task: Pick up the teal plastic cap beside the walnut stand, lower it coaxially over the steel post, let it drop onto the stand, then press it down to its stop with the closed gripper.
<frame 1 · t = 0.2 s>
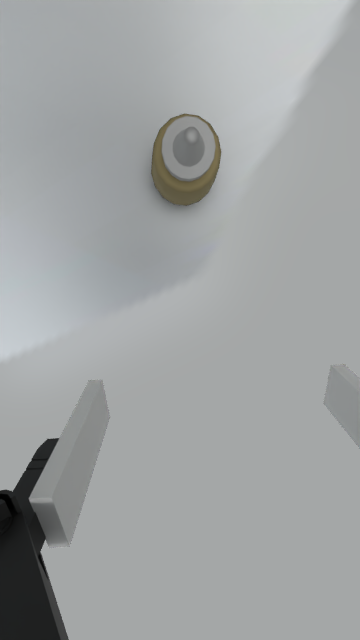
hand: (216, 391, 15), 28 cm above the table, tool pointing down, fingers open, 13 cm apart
squeeze bottle: (182, 174, 35), on the table
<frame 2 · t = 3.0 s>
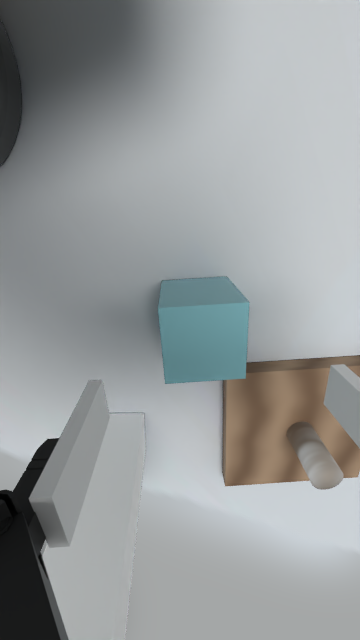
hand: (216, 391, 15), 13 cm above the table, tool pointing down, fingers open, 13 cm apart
walnut stand: (292, 419, 33), on the table
teal cap: (195, 309, 27), on the table
milk: (122, 429, 33), on the table
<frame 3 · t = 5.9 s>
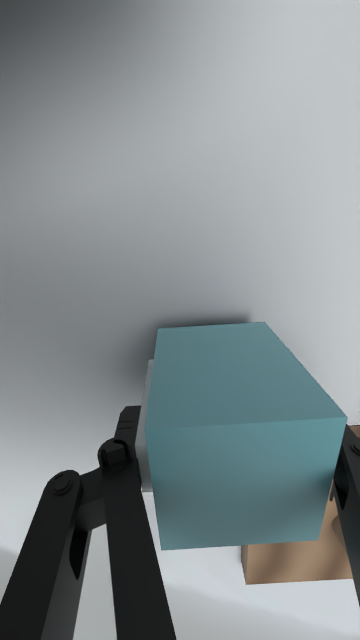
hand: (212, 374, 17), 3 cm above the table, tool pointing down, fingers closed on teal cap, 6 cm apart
walnut stand: (336, 499, 25), on the table
teal cap: (211, 370, 17), point 2 cm above the table, touching gripper
milk: (110, 510, 25), on the table
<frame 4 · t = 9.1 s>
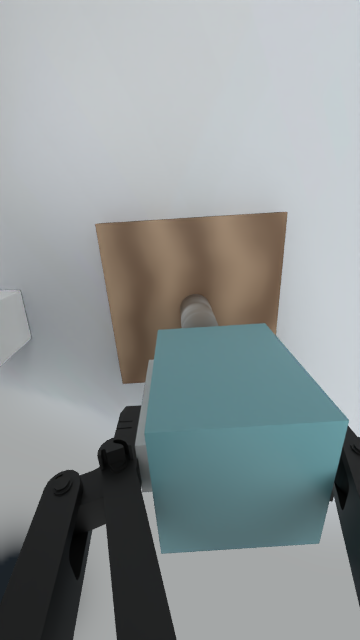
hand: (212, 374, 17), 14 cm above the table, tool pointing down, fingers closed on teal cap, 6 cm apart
walnut stand: (193, 302, 29), on the table
teal cap: (212, 372, 17), point 14 cm above the table, touching gripper
milk: (1, 314, 29), on the table
when the fingers open (2 cm above the table, at t = 12.1 s): teal cap stays where it is, resting on walnut stand.
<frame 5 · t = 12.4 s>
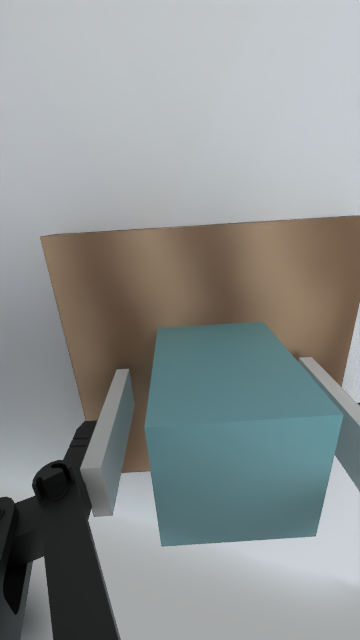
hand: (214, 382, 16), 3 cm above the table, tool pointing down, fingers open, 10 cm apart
walnut stand: (207, 355, 19), on the table
teal cap: (211, 369, 17), point 2 cm above the table, touching walnut stand
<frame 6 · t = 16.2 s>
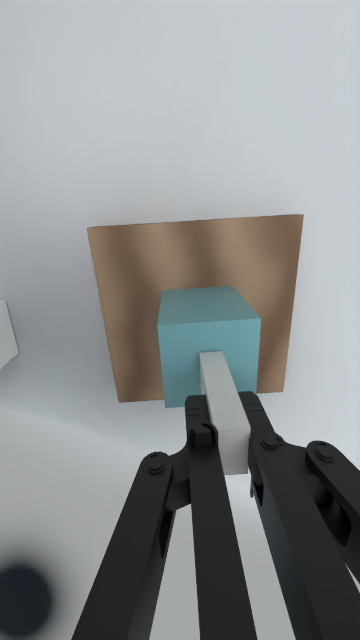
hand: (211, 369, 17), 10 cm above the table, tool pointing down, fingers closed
walnut stand: (196, 313, 27), on the table
teal cap: (198, 320, 25), point 2 cm above the table, touching gripper, walnut stand
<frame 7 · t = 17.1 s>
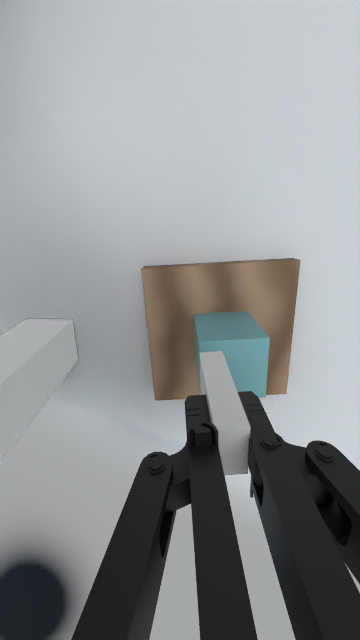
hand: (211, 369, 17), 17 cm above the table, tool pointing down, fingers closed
walnut stand: (218, 331, 34), on the table
teal cap: (220, 336, 32), point 2 cm above the table, touching walnut stand
milk: (54, 339, 35), on the table
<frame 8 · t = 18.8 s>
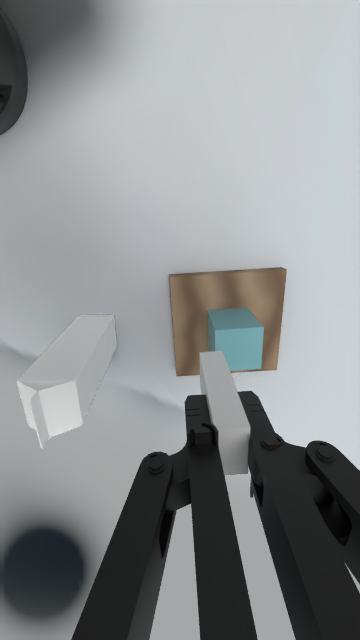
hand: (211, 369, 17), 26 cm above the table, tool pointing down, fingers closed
walnut stand: (225, 322, 45), on the table
teal cap: (227, 326, 43), point 2 cm above the table, touching walnut stand
milk: (98, 330, 45), on the table
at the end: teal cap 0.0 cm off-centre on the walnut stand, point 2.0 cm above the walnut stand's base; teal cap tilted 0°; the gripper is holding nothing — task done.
